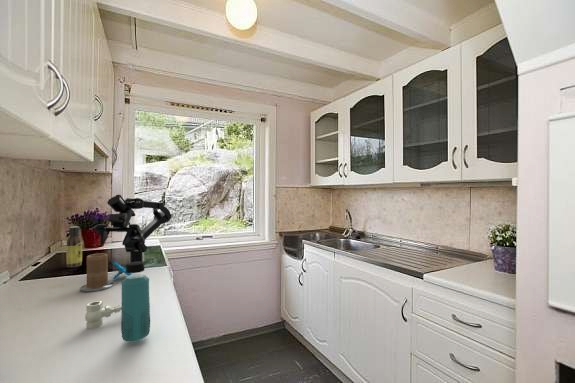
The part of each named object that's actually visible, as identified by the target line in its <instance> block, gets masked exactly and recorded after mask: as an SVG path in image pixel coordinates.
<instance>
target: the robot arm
mask: <svg viewBox="0 0 575 383" xmlns="http://www.w3.org/2000/svg"><path fill="white" fill-rule="evenodd" d="M107 204H108V206H109V207H110V208H111V209H112V210H113V211H114V212H115V213H110V214H109V215H108V219H107V221H108V222H110V225H111V226H110V227H109V226H108V225H107V224H96V225H95V227H94V230H95V231H96V233H97V234H98V236H99V237H100V246H101V247H102V246H103V245H104V244H105V243H106V241H107V239H108V238H109V235H110V233H112V232H113V233H114V232H115V233H126V234H125V235H124V238H123V241H122V246H124V249H125V252H126V253H129V255H130V257H129V262H127V264H128V263H131V262H144V264H146V261H144V260H143V259H144V258H143V255H144V254H143V253H146V252H147V250H148V246H147V245H146V239H147V238H149V237H150V235H152V234H153V233H154V232H155V230H157V229H158V228H159V227H160V226H161V225H164V224H166V223H168V222H169V221H170V220H171V219H172V214H171V212H170V210H169V208H167V207H166V206H165V205H164V203H163V202H162V201H152V200H151V201H150V200H148V201H147V200H144V199H143V198H141V197H126V198H125V199H124V198H123V196H122V195H121V194H116V195H114V196H112V197H110V198H109V199H108V200H107ZM139 209H140V210H141V209H152V210H153V211H152V214H153V219H152V220H151V221H150V222H149V223H148V224H147V225H146V226H144V228H141V226H140V225H139V224H138V223H131V219H132V217H136V213H135V211H134V210H139Z"/></svg>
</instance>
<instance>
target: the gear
mask: <svg viewBox="0 0 575 383" xmlns="http://www.w3.org/2000/svg"><path fill="white" fill-rule="evenodd" d="M112 264H113V266H114V267H115V268H116V269H118V271H117V272H118V273H116V275H114V276H113V277H112V279H113V280H114V281H116V279H117V278H119V276H120V275H123V274H125V275H126V277H127V276H129V275H133V273H126V266H125V267H124V266H121V265H122V264H120V263H117V262H116V261H114V262H113V263H112Z"/></svg>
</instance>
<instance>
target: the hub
mask: <svg viewBox="0 0 575 383" xmlns="http://www.w3.org/2000/svg"><path fill="white" fill-rule="evenodd" d="M114 285H115V282H114V281H110V280H109V281H108V284H107V285H106V286H103V287H100V288H93V289H90V288H87V283H86V284H84V285H82V286H80V287H79V290H80V292H83V293H93V292H94V293H95V292H102V291H105V290H107V289H110V288H113V287H114Z"/></svg>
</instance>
